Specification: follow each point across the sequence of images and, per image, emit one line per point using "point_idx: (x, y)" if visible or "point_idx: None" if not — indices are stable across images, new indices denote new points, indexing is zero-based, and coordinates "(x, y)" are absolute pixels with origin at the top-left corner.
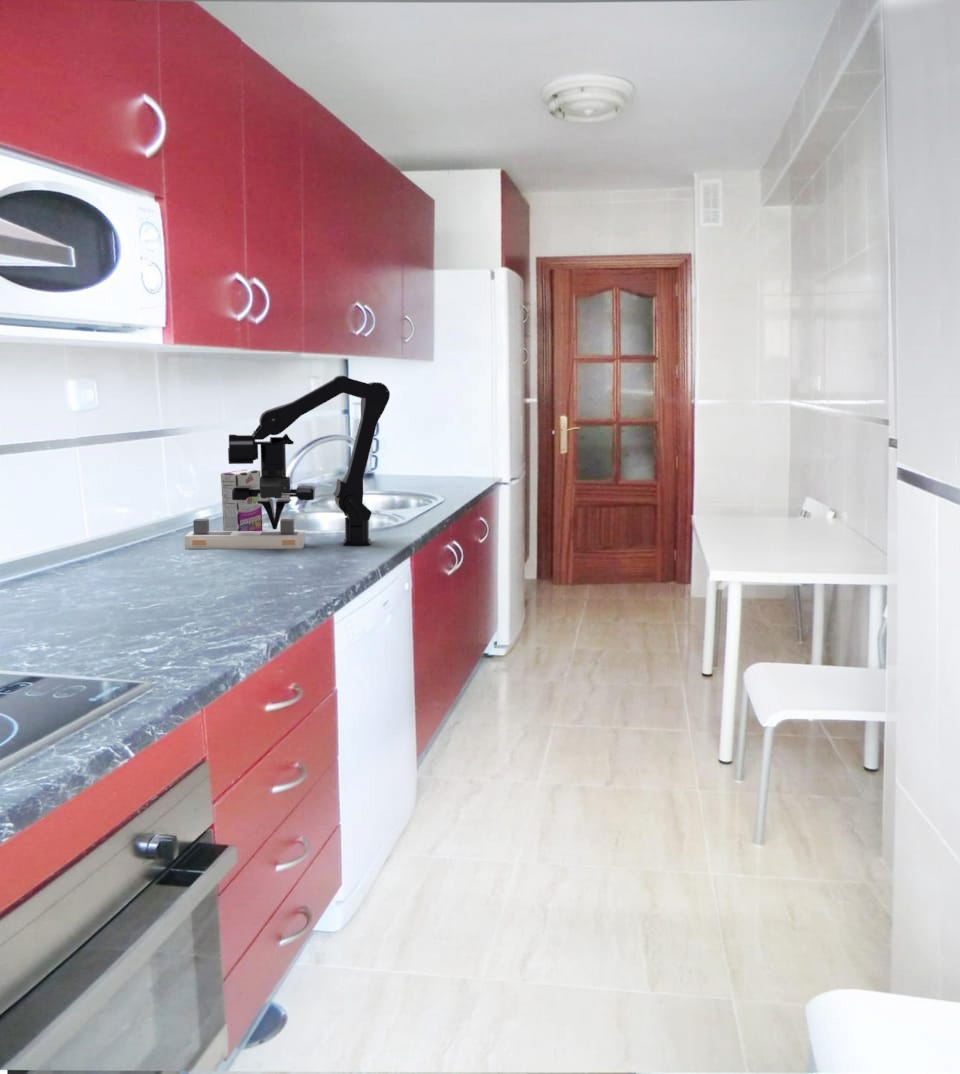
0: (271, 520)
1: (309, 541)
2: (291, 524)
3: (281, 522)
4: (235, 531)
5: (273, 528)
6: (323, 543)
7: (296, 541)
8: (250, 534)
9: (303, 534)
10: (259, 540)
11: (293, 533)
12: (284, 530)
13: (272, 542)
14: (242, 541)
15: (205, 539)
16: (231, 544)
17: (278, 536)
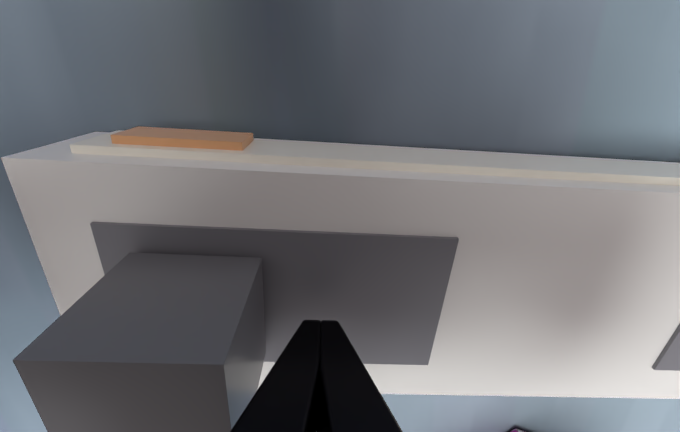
0: (359, 392)
1: None
2: (82, 317)
3: (213, 344)
4: (620, 389)
5: (333, 323)
6: (22, 315)
7: (109, 138)
8: (539, 269)
9: (35, 248)
10: (456, 159)
11: None
12: (211, 274)
13: (336, 148)
14: (598, 165)
15: None
16: (663, 165)
17: (274, 171)
